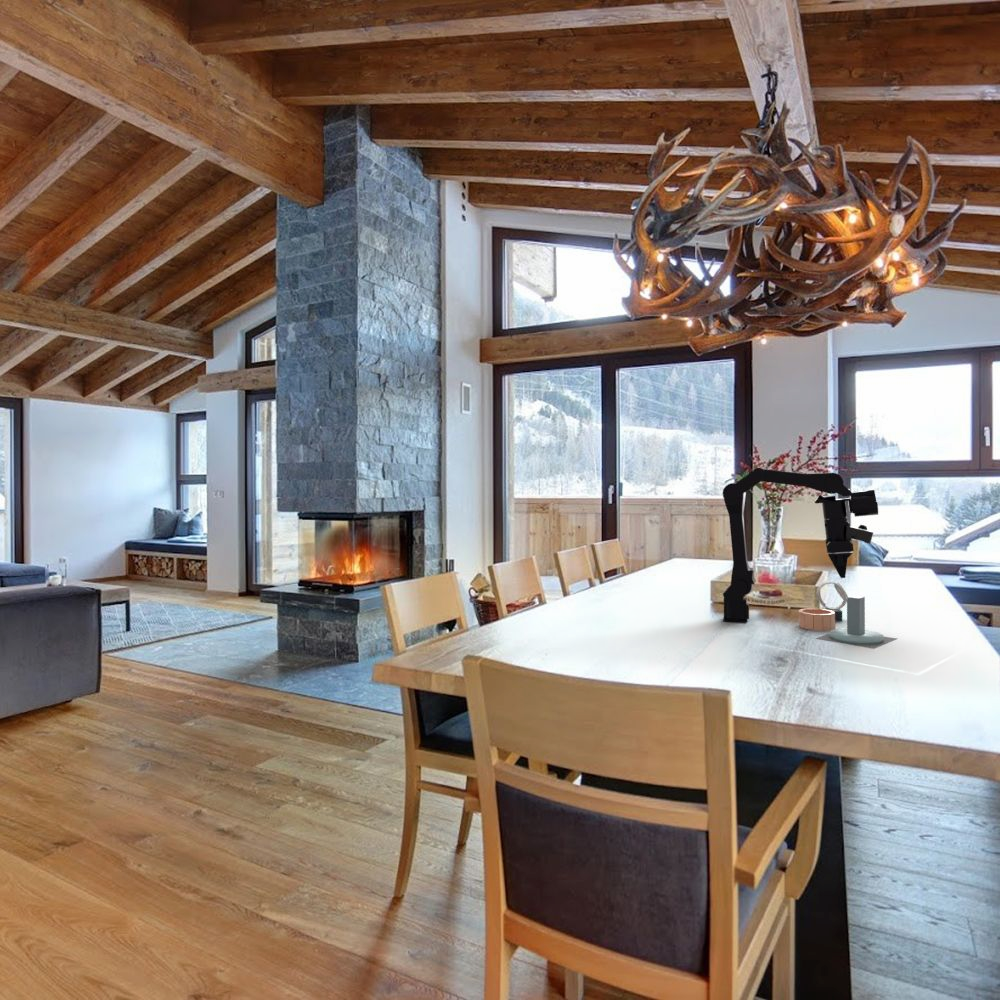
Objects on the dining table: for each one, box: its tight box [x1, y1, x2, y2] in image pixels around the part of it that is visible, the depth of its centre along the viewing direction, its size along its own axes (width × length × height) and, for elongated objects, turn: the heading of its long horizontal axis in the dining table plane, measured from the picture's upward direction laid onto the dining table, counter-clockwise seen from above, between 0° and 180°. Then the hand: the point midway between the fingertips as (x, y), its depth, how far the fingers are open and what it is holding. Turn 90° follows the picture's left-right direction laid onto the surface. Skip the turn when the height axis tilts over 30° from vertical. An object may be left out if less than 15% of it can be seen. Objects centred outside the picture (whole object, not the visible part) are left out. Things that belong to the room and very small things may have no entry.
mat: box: [814, 633, 898, 650], centre depth 169 cm, size 14×14×1 cm
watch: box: [815, 580, 849, 622], centre depth 193 cm, size 6×8×11 cm
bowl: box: [798, 607, 836, 632], centre depth 183 cm, size 9×9×4 cm
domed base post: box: [828, 595, 885, 644], centre depth 169 cm, size 12×12×10 cm
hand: (842, 575), depth 183 cm, fingers open, 9 cm apart
